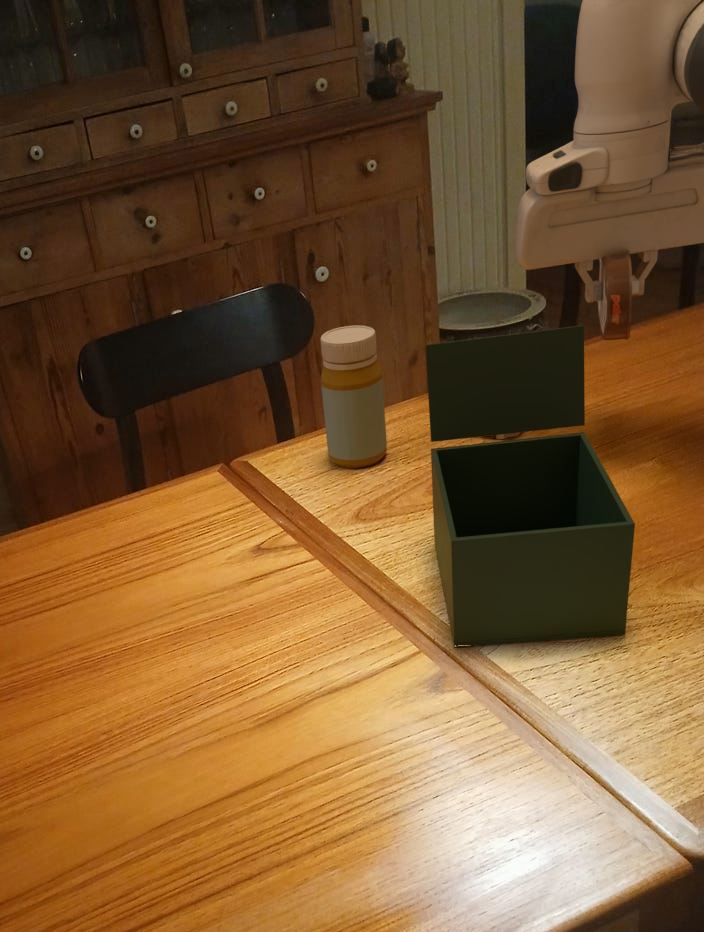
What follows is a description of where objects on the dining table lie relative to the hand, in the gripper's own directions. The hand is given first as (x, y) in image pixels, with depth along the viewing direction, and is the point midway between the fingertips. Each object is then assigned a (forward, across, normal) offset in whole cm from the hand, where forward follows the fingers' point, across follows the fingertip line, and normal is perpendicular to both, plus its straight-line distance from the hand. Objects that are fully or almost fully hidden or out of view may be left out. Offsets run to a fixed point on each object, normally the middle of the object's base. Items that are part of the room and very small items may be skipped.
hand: (613, 297), depth 105 cm
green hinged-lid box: (+15, +15, +31) cm, 38 cm away
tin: (+3, 0, 0) cm, 3 cm away
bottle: (+15, +29, -1) cm, 33 cm away
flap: (0, +14, +21) cm, 25 cm away
